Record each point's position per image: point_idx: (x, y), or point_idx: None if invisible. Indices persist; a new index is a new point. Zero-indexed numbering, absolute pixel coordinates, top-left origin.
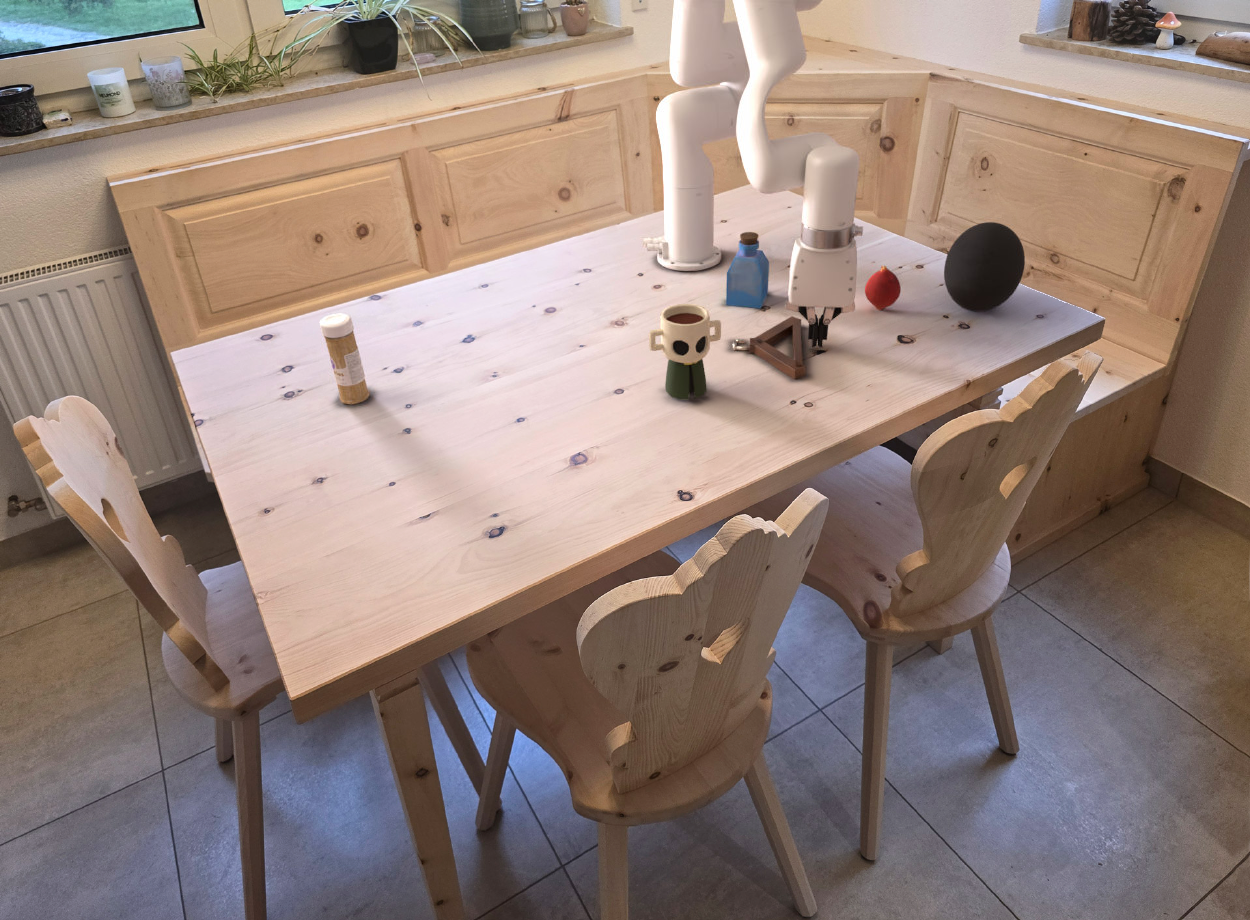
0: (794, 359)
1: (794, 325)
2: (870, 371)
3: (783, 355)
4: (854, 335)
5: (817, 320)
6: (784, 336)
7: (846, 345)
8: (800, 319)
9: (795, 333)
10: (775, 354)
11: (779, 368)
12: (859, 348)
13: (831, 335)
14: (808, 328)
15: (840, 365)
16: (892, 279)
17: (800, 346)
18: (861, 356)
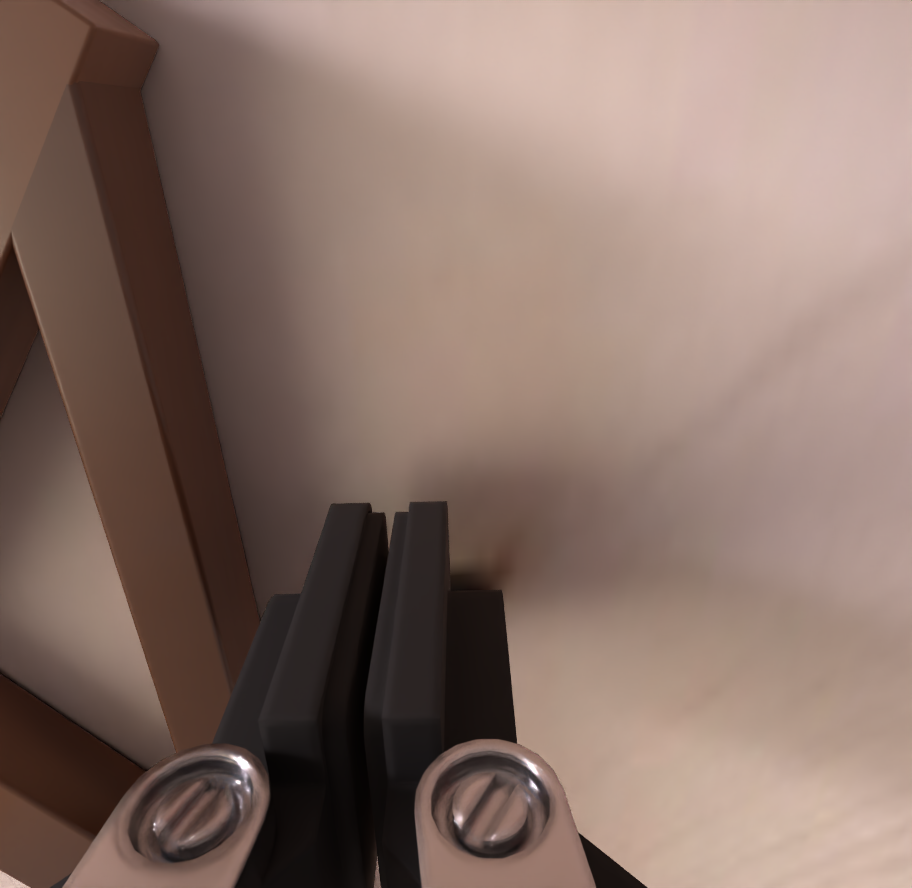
0: None
1: (43, 275)
2: (818, 825)
3: None
4: (862, 212)
5: (342, 800)
6: (15, 368)
7: (712, 462)
8: (77, 32)
9: (118, 497)
10: (42, 865)
11: None
12: (832, 511)
13: (573, 237)
14: (249, 655)
15: (603, 773)
16: None
17: None
18: (810, 643)
